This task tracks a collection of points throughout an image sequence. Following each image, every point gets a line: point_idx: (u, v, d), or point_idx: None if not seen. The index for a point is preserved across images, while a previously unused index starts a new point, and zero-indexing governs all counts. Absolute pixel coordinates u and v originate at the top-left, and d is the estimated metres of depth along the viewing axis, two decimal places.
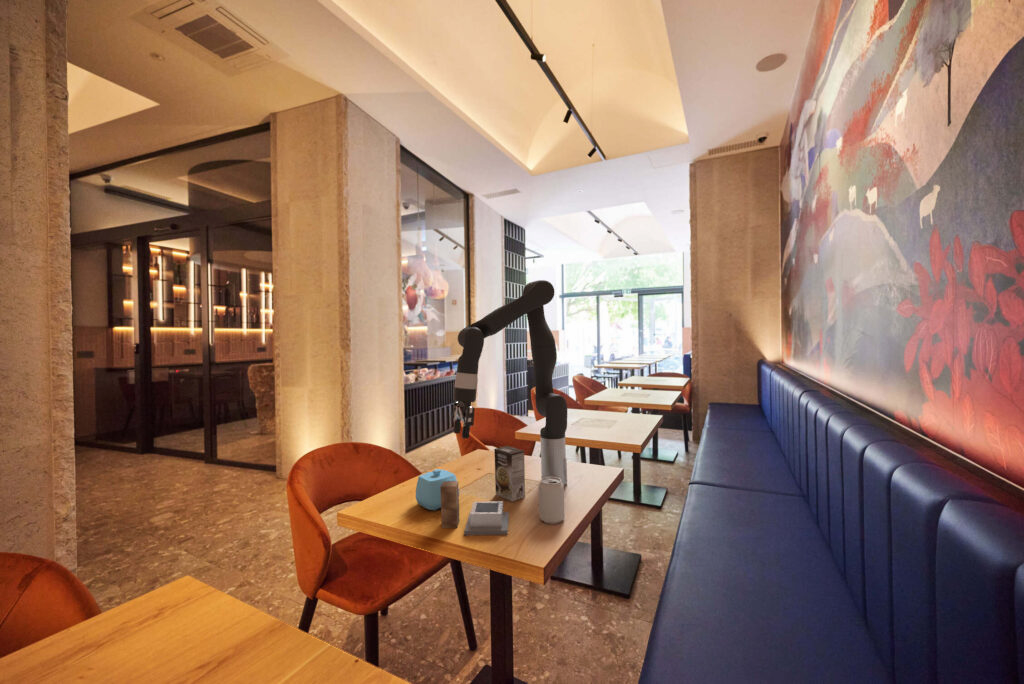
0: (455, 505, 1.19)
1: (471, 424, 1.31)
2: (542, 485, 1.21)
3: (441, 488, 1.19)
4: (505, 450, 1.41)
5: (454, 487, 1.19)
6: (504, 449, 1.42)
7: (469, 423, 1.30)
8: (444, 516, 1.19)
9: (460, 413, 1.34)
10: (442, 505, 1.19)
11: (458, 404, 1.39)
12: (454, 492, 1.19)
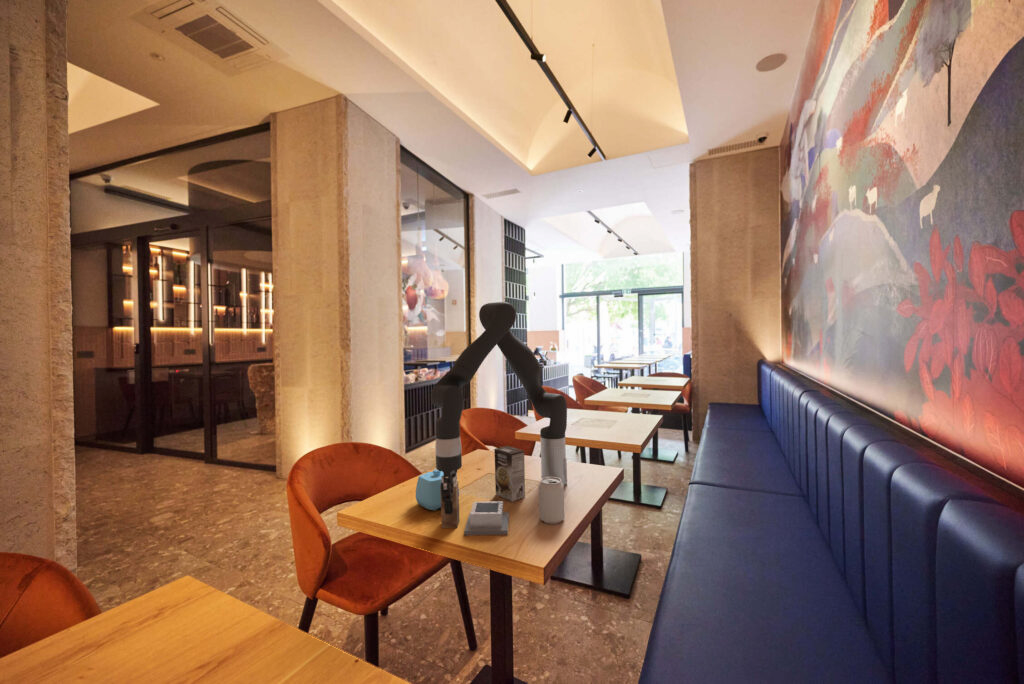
0: (455, 505, 1.19)
1: (448, 500, 1.16)
2: (542, 485, 1.21)
3: None
4: (505, 449, 1.41)
5: (454, 487, 1.19)
6: (504, 449, 1.42)
7: (445, 499, 1.16)
8: (444, 516, 1.19)
9: None
10: (442, 505, 1.19)
11: None
12: (454, 492, 1.19)
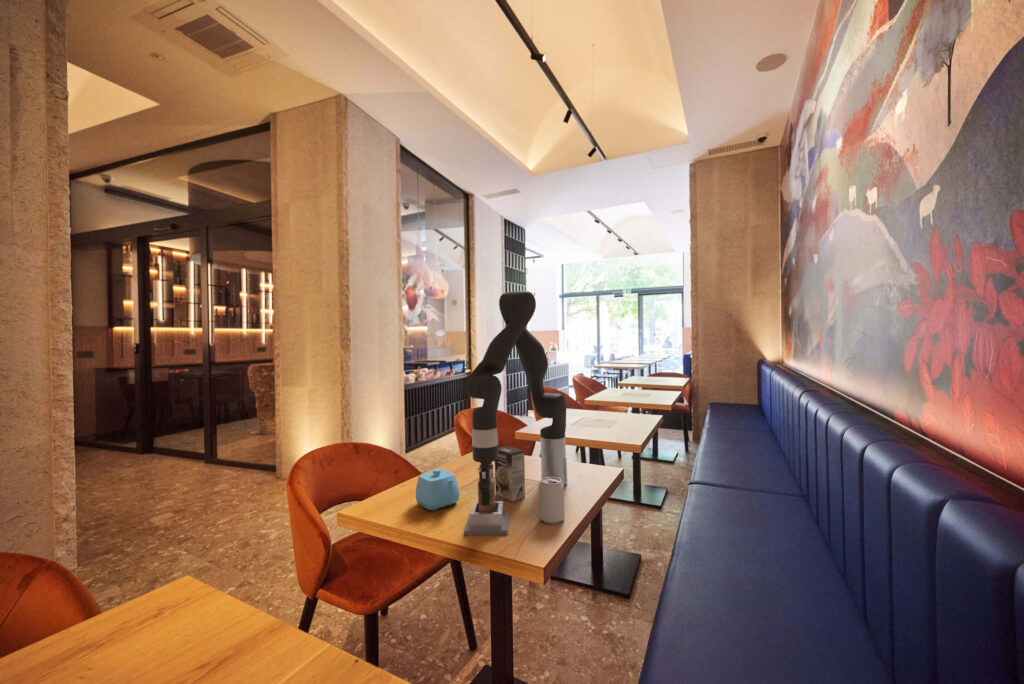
0: (493, 501, 1.18)
1: (486, 491, 1.14)
2: (542, 485, 1.21)
3: (479, 484, 1.18)
4: (505, 450, 1.41)
5: (492, 483, 1.18)
6: (504, 449, 1.42)
7: (483, 490, 1.14)
8: None
9: None
10: (479, 501, 1.18)
11: None
12: (492, 488, 1.18)
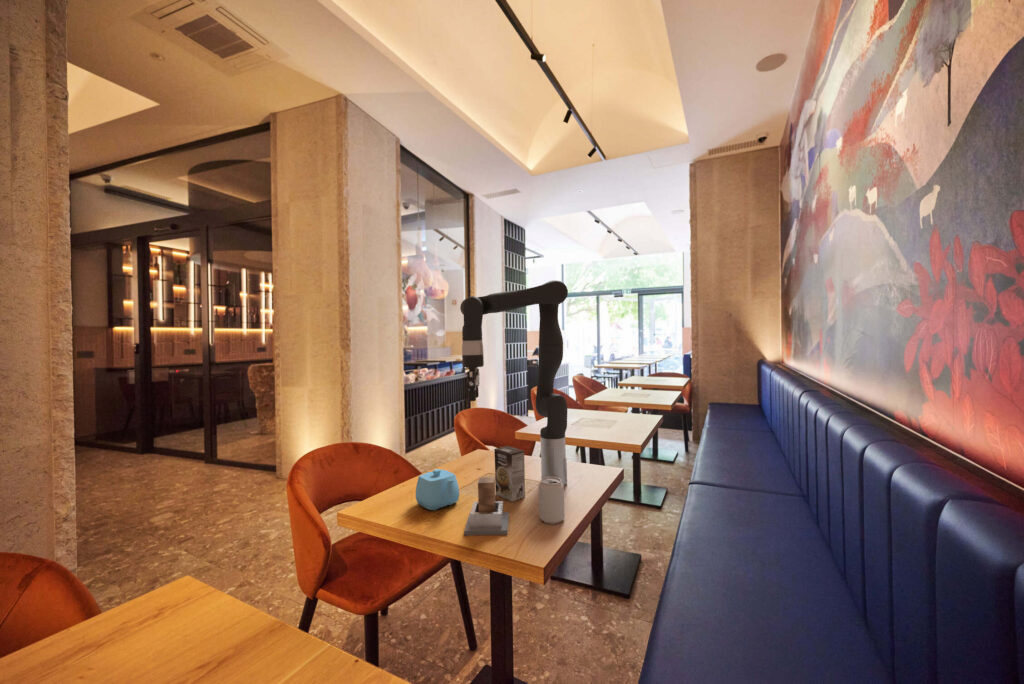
0: (493, 501, 1.18)
1: (472, 387, 1.39)
2: (542, 485, 1.21)
3: (478, 484, 1.18)
4: (505, 450, 1.41)
5: (492, 483, 1.18)
6: (504, 449, 1.42)
7: (470, 386, 1.39)
8: None
9: None
10: (479, 501, 1.18)
11: None
12: (492, 488, 1.18)
